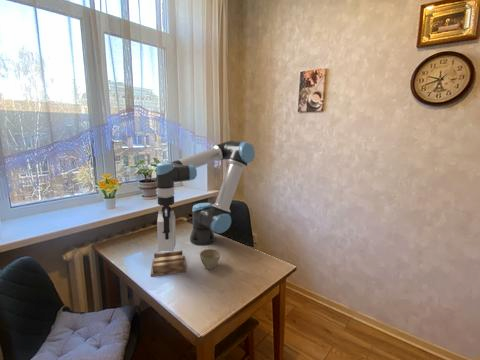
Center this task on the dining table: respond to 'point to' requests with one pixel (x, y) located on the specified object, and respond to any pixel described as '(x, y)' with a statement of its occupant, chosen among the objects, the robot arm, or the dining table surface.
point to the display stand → (168, 263)
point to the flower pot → (210, 258)
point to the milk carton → (161, 235)
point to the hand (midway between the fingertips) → (167, 240)
